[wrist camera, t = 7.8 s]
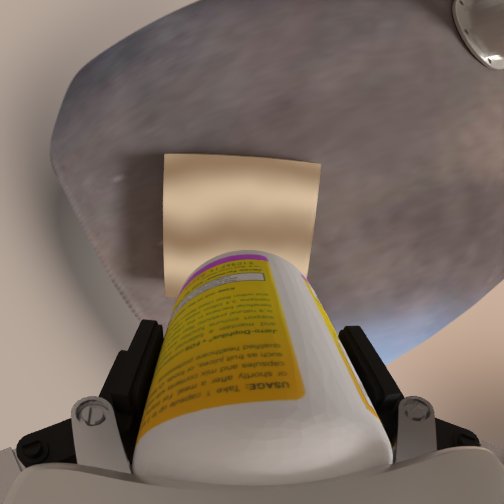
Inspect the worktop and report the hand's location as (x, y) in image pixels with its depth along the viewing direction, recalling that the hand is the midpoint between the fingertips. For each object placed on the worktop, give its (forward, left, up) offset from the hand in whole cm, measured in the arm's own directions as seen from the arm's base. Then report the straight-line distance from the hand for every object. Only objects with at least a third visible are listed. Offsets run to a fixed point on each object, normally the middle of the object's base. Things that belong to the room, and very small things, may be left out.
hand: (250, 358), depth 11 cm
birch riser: (0, 0, -21) cm, 21 cm away
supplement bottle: (0, 0, -4) cm, 4 cm away
